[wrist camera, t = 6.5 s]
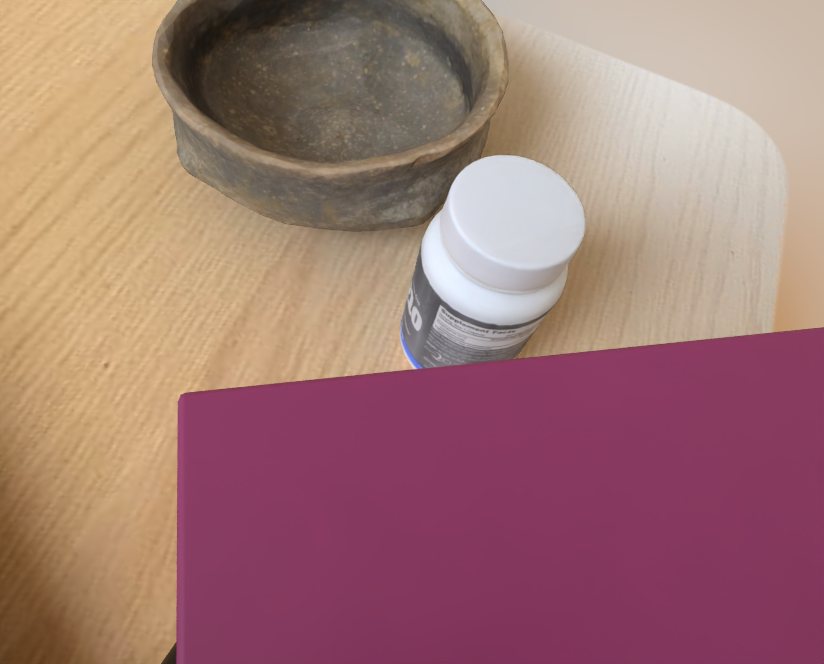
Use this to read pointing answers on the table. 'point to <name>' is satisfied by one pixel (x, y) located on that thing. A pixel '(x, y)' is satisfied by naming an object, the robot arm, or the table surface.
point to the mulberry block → (512, 511)
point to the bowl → (331, 103)
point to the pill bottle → (491, 263)
